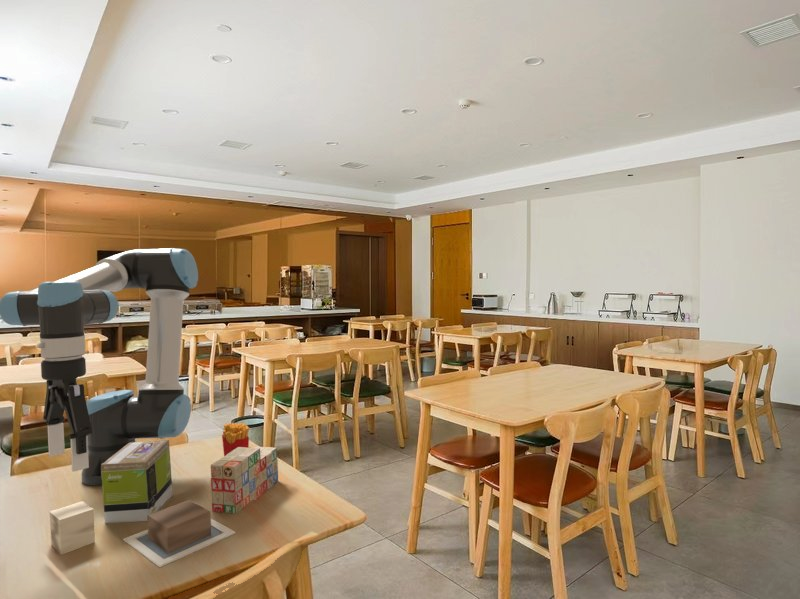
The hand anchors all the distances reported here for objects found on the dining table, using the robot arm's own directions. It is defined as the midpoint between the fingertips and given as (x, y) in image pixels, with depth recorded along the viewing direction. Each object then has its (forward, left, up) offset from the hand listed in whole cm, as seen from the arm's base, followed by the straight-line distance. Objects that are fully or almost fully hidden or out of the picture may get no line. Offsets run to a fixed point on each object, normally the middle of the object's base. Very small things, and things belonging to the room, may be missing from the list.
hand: (68, 461), depth 104 cm
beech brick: (0, 0, -18) cm, 18 cm away
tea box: (-6, +16, -18) cm, 25 cm away
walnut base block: (+15, +15, -17) cm, 27 cm away
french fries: (-11, +45, -18) cm, 50 cm away
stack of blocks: (+7, +36, -19) cm, 41 cm away
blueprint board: (+15, +15, -18) cm, 28 cm away
